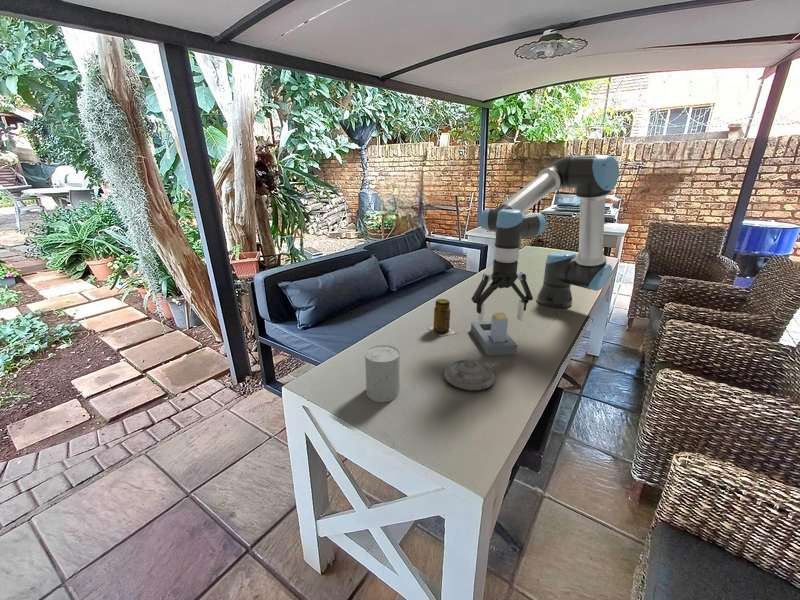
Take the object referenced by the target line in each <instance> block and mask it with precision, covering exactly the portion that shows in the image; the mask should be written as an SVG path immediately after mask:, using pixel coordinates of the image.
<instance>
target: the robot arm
mask: <svg viewBox="0 0 800 600" xmlns="http://www.w3.org/2000/svg"><path fill="white" fill-rule="evenodd" d="M619 178H620V166H619V163H618V160H617V159H616V158H615V157H614V156H613V155H609V154H608V155H604V154H590V155H589V154H587V155H586V154H585V155H583V154H582V155H578V154H577V155H575V154H574V155H568V156H565V157H563V158H560V159H557V160H555V161H553V162H552V163H550V164H548V165H547V166H545V167H544V168H542V169H541V170H540V171H539V172H538V174H537V177H535V178H534V179H533V180H531V181H530V182H528V183H527V184H525V186H524V187H522V188H521V189H520V190H517V192H516V193H514V194H513V195H512V196H510V197H509V198H508V199H506V200H505V201H504V202H502V203H501V204H499V205H498V206H496V208H485V209H484V210H483V211H482V212H481V214H480V216H479V222H478V223H479V226H480V228H481V229H483V230H485V231H489V232H491V233H492V232H493V233H495V242H494V253H493V258H494V259H493V264H492V274H486V273H483V274H482V277H481V281H480V283H479V285H478V286H477V287H476V290H475V292H474V293H473V295H472V297H471V302H473V303H474V304H476V312H477V314H478V322H480V323H483V322H484V313H485V304H484V302H486V300H488V299H489V297H490V296H491V295H492V294H493V293H494V291H496V290H497V289H498V288H499V289H504V288H506V289H509V288H510V287H511V288H512V290H513V291H514V292H515V293H516V294H517V296H518V297H519V298H520V299H518V306H517V315H516V319H517V320H519V322H523V317H524V312H525V311H526V310H527V304H528V303H529V301H533V299H534V297H533V295H532V292H531V289H530V287H529V285H528V282H527V274H525V273H524V272H522V271H521V272H519V273H517V272H518V265H519V263H518V261H519V256H520V255H519V254H520V253H519V252H520V245H521V244H520V243H521V239H526V238H533V237H534V238H535V237H536V236H539V235H541V234H542V233H544V231H545V230H546V227H547V219H546V218H545V216H544V215H543V214H542V213H540V212H530V213H528V212H527V211H528V210H529V209H531V208H532V207H534V205H536V204H537V203H538V202H539V201H541V200H542V199H543V198H544V197H546V196H547V195H549V194H550V193H554V192H556V191H558V190H559V189H566V188H568V189H575V196H576V197H577V198H578V199H579V227H578V228H579V229H578V230H579V231H578V232H579V233H578V235H579V236H578V254H576V253H574V252H567V251H565V252H564V251H563V252H560V251H559V252H552V253H549V254H548V255H547V257H546V260H545V267H544V273H543V274H544V275H543V282H542V286H541V287H540V289H539V291H538V293H537V297H536V302H537V303H539V304H540V305H543V306H546V307H550V308H557V309H558V308H559V309H563V308H564V309H565V308H569V307H571V306H572V305H573V296H572V290H571V286H576V287H579V288H583V289H587V290H591V291H596V292H597V291H600V290H602V289H603V288H605V287H606V285H607V284H608V282H609V281H610V278H611V277H612V272H613V267H612V265H611V264H609V263H607V257H606V255H604V254H603V252H604V251H603V250H604V234H605V233H604V230H605V215H606V213H605V212H606V200H607V199H606V197H607V196H608V195H610V194H611V192H612V190H613V189H615V187H616V185H617V184H618V180H619ZM526 212H527V213H526ZM517 279H518V280H519V282H520V284H521V287H522V289H523V291H524V294H523V292H522V291H521V289H520V288H519V287H518V285H517V284H516V283H515V282H516V280H517ZM490 281H492V282H491V283H490V284H489V286H488V287H487V285H488V283H489V282H490ZM485 288H486V289H485Z"/></svg>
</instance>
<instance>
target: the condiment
mask: <svg viewBox="0 0 800 600" xmlns="http://www.w3.org/2000/svg"><path fill="white" fill-rule="evenodd" d="M434 305H435V306H434V310H433V311H434V312H433V326H431V327H428V329H429V330H430V331H431V332H433V333H435V334H436V335H437V336H439V337H443V336H444V337H445V336H448V335H453V334H457V333H456V331H454V330H453V329H451V328H450V324H451V323H450V321H451V307H450V300H449V299H446V298H445V299H444V298H439V299H436V300H435V304H434Z"/></svg>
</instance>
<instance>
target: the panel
mask: <svg viewBox="0 0 800 600" xmlns="http://www.w3.org/2000/svg"><path fill="white" fill-rule="evenodd" d="M491 323H492V320H491V321H489V320H487V321H486V320H485V321H483V323H480V321H471V323H470V332H471V333H472V335H473V336H474V338H475V339H476V341H477V342H478V343H479V345H480V347H481V348H482V350H483V351H484V353H485V354H486V356H488V357H490V356H492V357H494V356H508V355H510V356H511V355H517V353H518V352H517V351H518V344H517V343H516V342H515V340H514V339H513V338H512V337H511V336H510V334H508V332H506V341H505V342H503V343H492V341H491V340H490V334H491Z"/></svg>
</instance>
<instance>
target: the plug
mask: <svg viewBox="0 0 800 600" xmlns="http://www.w3.org/2000/svg"><path fill="white" fill-rule="evenodd" d="M491 321H492V323H491V334H490V340H491V341H492V343H503V342H505V341H506V332H507V331H508V321H509V320H508V318H507V315H506V314H505V313H504V312H494V313H493V314H492V316H491ZM507 333H508V332H507Z"/></svg>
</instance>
